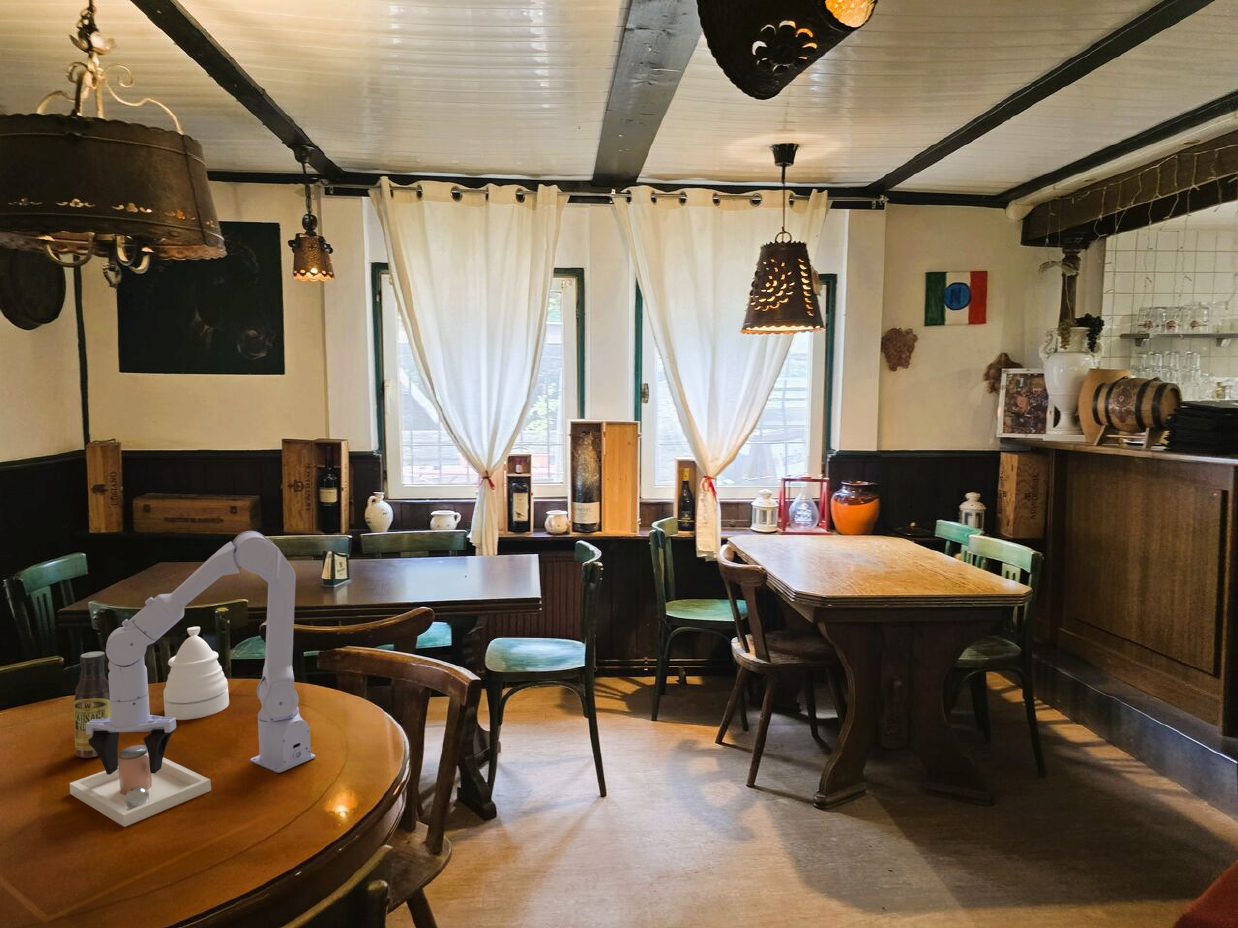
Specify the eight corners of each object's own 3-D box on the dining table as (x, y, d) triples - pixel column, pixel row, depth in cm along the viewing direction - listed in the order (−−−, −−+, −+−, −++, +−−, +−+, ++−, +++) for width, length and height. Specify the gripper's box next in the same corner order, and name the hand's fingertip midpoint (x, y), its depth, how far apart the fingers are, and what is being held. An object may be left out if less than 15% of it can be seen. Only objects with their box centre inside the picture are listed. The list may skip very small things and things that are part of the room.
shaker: (158, 782, 139) (155, 744, 139) (138, 795, 135) (135, 756, 134) (134, 780, 140) (131, 743, 139) (113, 794, 135) (110, 755, 135)
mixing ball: (153, 806, 131) (152, 786, 131) (131, 815, 128) (130, 794, 128) (143, 800, 133) (142, 780, 133) (121, 809, 130) (120, 789, 130)
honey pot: (168, 703, 179) (163, 626, 178) (230, 694, 184) (226, 619, 183) (160, 723, 167) (155, 641, 166) (227, 713, 172) (223, 634, 171)
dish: (211, 793, 136) (210, 779, 136) (124, 830, 125) (123, 815, 124) (154, 765, 147) (154, 752, 147) (70, 796, 136) (69, 782, 136)
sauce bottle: (70, 761, 150) (63, 660, 148) (83, 748, 156) (76, 651, 154) (109, 757, 151) (102, 657, 150) (120, 743, 157) (114, 647, 156)
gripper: (183, 686, 140) (187, 759, 141) (102, 688, 140) (107, 761, 141) (161, 701, 133) (166, 778, 134) (75, 703, 133) (80, 780, 134)
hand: (134, 771), depth 137 cm, fingers open, 7 cm apart
